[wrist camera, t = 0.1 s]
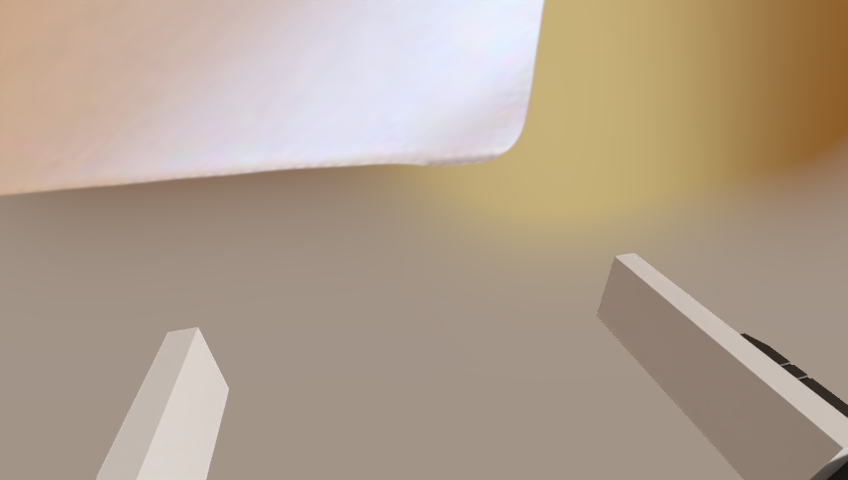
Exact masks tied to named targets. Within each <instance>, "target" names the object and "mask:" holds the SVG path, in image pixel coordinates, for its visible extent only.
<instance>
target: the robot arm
mask: <svg viewBox="0 0 848 480" xmlns="http://www.w3.org/2000/svg"><path fill="white" fill-rule="evenodd" d="M597 317H599V319H600V320H601V321H602V322H603V323H604V324H605V326H606V327H607V328H608V329H609V330H610V331H611V332H612V333H613V334H614V336H615V337H616V338H617V339H618V340H619V341H620V342H621V343H622V345H623V346H624V347H625V348H626V349H627V350H628V351H629V352H630V353H631V355H632V356H633V357H634V358H635V359H636V360H637V361H638V362H639V363H640V365H641V366H642V367H643V368H644V369H645V370H646V371H647V372H648V373H649V375H650V376H651V377H652V378H653V379H654V380H655V381H656V382H657V383H658V385H659V386H660V387H661V388H662V389H663V390H664V391H665V392H666V393H667V394H668V396H669V397H670V398H671V399H672V400H673V401H674V402H675V404H676V405H677V406H678V407H679V408H680V409H681V410H682V411H683V412H684V414H685V415H686V416H687V417H688V418H689V419H690V420H691V421H692V422H693V423H694V424H695V426H696V427H697V428H698V429H699V430H700V431H701V432H702V434H703V435H704V436H705V437H706V438H707V439H708V440H709V441H710V442H711V444H713V446H714V447H715V448H716V449H717V450H718V451H719V452H720V453H721V455H722V456H723V457H724V458H725V459H726V460H727V461H728V462H729V464H730V465H731V466H732V467H733V468H734V469H735V470H736V471H737V473H738V474H739V475H740V476H741V477H742V478H743V479H744V480H848V405H847V404H846V403H844V402H843V401H842V400H840V399H839V398H838V397H836V396H835V395H834V394H832V393H831V392H830V391H828V390H827V389H826V388H824V387H823V386H822V385H820V384H819V383H818V382H816V381H815V380H814V379H812V378H811V379H810V378H808V377H807V374H806V373H804V372H803V371H802V370H800V369H799V368H798V367H796V366H795V365H791V364H790V362H789V361H788V360H787V359H786V358H784V357H783V356H782V355H780V354H779V353H778V352H776V351H775V350H773V349H772V348H771V347H770V346H768V345H766V344H764V343H762V342H760V341H758V340H756V339H754V338H752V337H750V336H749V335H746V334H740V335H739V334H738V333H737V332H736V331H734V330H733V329H732V328H731V327H729V326H728V325H727V324H725V323H724V322H723V321H722V320H720V319H719V318H718V317H716V316H715V315H714V314H713V313H711V312H710V311H709V310H707V309H706V308H705V307H704V306H702V305H701V304H700V303H698V302H697V301H696V300H694V299H693V298H692V297H691V296H689V295H688V294H687V293H685V292H684V291H683V290H682V289H680V288H679V287H678V286H676V285H675V284H674V283H673V282H671V281H670V280H669V279H667V278H666V277H665V276H663V275H662V274H661V273H660V272H658V271H657V270H656V269H654V268H653V267H652V266H651V265H649V264H648V263H647V262H645V261H644V260H643V259H642V258H640V257H639V256H638V255H636V254H635V253H632V254H626V255H620V256H615V257H614V261H613V264H612V268H611V271H610V274H609V277H608V280H607V284H606V287H605V290H604V293H603V297H602V300H601V304H600V307H599V310H598V313H597ZM228 391H229V388H228V386H227V384H226V382H225V380H224V378H223V376H222V374H221V372H220V370H219V368H218V366H217V364H216V362H215V360H214V358H213V356H212V354H211V352H210V350H209V348H208V346H207V344H206V342H205V340H204V338H203V336H202V334H201V332H200V330H199V328H198V327H196V328H190V329H184V330H178V331H173V332H168V333H167V335H166V337H165V339H164V341H163V343H162V345H161V347H160V349H159V351H158V353H157V355H156V357H155V360H154V361H153V363H152V366H151V368H150V369H149V372H148V374H147V376H146V378H145V380H144V382H143V384H142V386H141V388H140V390H139V392H138V394H137V396H136V398H135V400H134V402H133V404H132V406H131V408H130V411H129V412H128V414H127V416H126V418H125V420H124V422H123V424H122V426H121V428H120V430H119V433H118V435H117V436H116V439H115V441H114V443H113V445H112V447H111V449H110V451H109V453H108V455H107V457H106V459H105V461H104V463H103V465H102V467H101V469H100V471H99V473H98V475H97V477H96V479H95V480H206V478H207V474H208V470H209V465H210V462H211V458H212V454H213V450H214V446H215V442H216V438H217V435H218V431H219V427H220V423H221V419H222V415H223V411H224V407H225V403H226V399H227V395H228Z"/></svg>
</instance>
